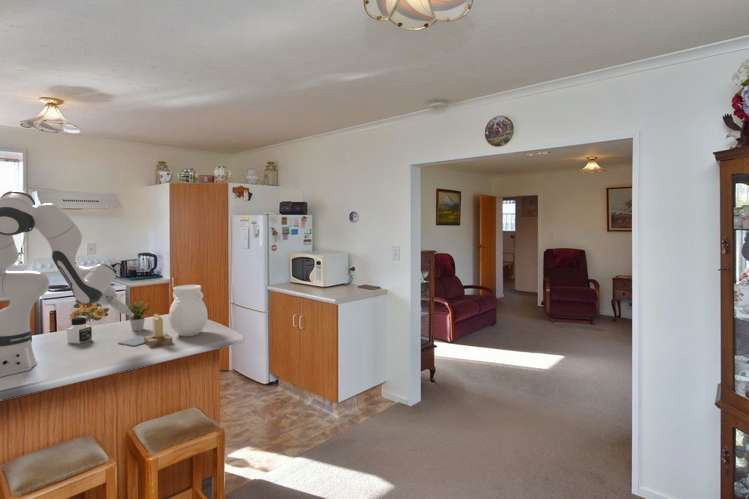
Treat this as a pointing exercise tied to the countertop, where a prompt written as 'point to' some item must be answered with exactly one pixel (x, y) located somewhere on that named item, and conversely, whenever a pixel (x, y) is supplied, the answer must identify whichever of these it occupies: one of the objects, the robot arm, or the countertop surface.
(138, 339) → the slate mat
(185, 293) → the white vase
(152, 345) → the socket block
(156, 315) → the t key
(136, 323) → the house plant
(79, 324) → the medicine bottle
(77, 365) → the countertop surface
